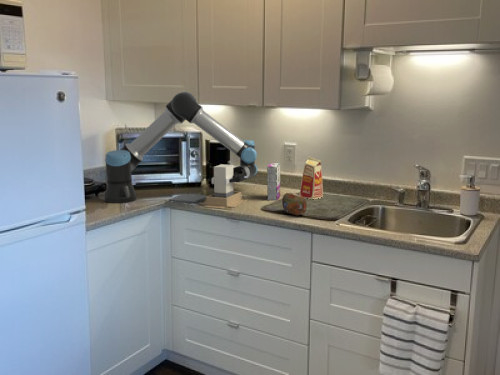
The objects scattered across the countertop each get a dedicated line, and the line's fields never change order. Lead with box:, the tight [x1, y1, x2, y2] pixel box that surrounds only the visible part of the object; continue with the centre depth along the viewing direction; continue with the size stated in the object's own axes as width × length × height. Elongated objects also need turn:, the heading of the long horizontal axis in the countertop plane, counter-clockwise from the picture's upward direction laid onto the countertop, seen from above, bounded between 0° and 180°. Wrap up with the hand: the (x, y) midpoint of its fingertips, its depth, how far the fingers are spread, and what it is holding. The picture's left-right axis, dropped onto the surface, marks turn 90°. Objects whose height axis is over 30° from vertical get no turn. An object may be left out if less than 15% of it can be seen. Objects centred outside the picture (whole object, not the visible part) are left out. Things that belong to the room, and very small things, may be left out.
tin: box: [281, 192, 307, 216], centre depth 218 cm, size 15×3×8 cm, turn 29°
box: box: [213, 163, 234, 198], centre depth 239 cm, size 6×8×16 cm
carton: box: [200, 190, 248, 210], centre depth 240 cm, size 17×23×4 cm
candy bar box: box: [266, 162, 281, 201], centre depth 249 cm, size 11×5×16 cm, turn 168°
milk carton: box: [298, 156, 324, 200], centre depth 249 cm, size 9×9×20 cm
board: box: [168, 193, 208, 205], centre depth 248 cm, size 14×14×1 cm
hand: (218, 181), depth 234 cm, fingers closed on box, 6 cm apart
